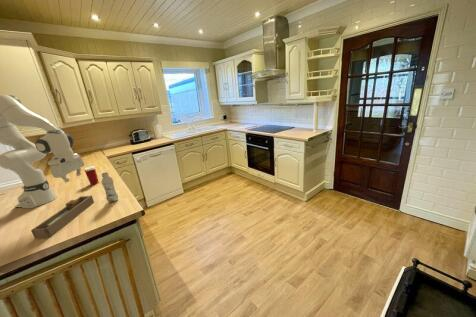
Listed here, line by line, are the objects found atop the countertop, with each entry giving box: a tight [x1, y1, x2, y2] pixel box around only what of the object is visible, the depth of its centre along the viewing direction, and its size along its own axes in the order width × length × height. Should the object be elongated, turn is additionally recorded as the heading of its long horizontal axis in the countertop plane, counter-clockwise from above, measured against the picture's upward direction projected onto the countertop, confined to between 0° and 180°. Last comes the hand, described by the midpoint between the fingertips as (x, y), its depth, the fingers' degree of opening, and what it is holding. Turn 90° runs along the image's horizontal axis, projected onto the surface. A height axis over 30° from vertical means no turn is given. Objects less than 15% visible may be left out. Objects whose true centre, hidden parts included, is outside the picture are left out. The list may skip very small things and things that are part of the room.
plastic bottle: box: [100, 172, 119, 203], centre depth 131 cm, size 6×7×20 cm
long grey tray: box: [30, 195, 95, 240], centre depth 118 cm, size 8×34×5 cm, turn 0°
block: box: [65, 199, 80, 211], centre depth 123 cm, size 4×4×4 cm
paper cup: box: [83, 165, 100, 186], centre depth 164 cm, size 8×8×14 cm
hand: (73, 178), depth 124 cm, fingers open, 8 cm apart
